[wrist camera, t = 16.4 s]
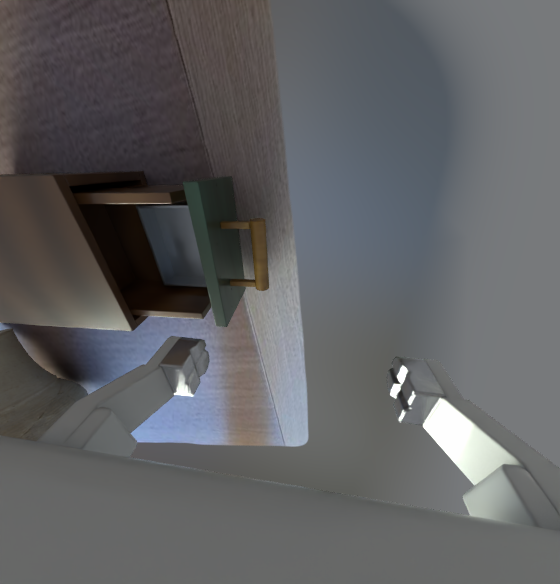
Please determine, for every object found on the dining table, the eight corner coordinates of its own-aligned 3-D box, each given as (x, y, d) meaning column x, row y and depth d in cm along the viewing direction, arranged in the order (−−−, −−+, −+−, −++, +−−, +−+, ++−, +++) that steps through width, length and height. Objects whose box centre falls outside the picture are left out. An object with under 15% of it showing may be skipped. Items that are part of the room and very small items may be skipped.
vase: (-214, 360, 28) (-75, 502, 35) (-212, 363, 20) (-31, 548, 27) (20, 301, 47) (78, 401, 54) (70, 290, 39) (132, 409, 46)
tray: (204, 201, 22) (193, 205, 20) (219, 277, 26) (211, 287, 24) (150, 201, 22) (135, 205, 20) (174, 276, 27) (163, 285, 25)
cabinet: (143, 171, 23) (52, 174, 15) (179, 286, 30) (132, 331, 22) (13, 174, 24) (-134, 178, 16) (78, 282, 32) (0, 322, 24)
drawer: (271, 175, 21) (255, 180, 14) (275, 290, 28) (265, 329, 21) (95, 178, 23) (9, 184, 16) (140, 284, 30) (92, 319, 23)
